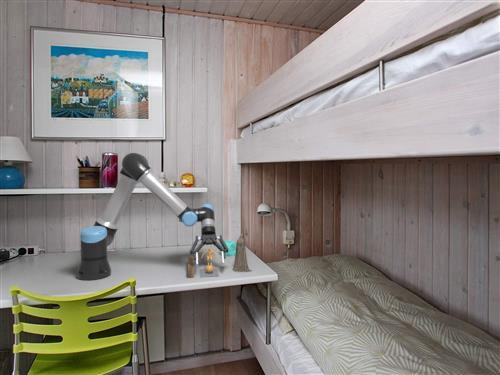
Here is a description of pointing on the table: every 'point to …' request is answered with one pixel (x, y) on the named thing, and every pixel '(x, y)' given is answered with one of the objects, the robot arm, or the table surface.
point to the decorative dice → (230, 248)
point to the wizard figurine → (241, 254)
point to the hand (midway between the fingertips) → (210, 264)
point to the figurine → (209, 268)
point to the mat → (205, 274)
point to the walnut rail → (190, 267)
